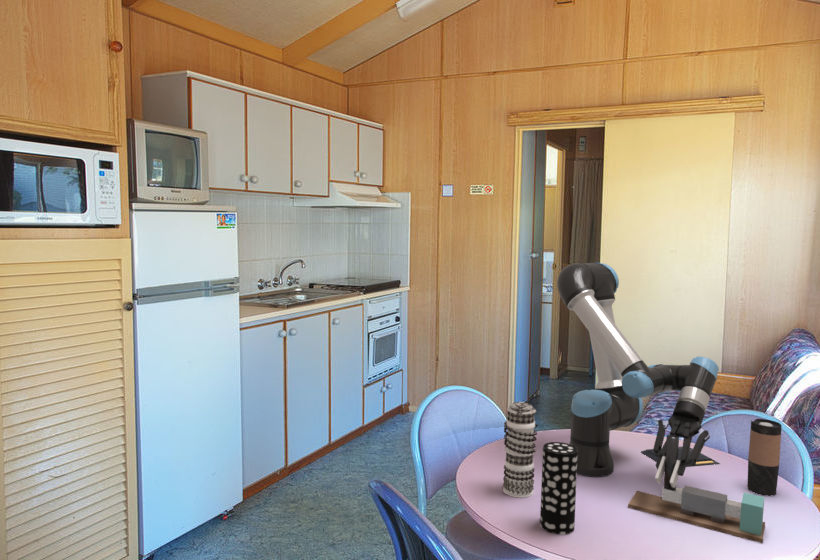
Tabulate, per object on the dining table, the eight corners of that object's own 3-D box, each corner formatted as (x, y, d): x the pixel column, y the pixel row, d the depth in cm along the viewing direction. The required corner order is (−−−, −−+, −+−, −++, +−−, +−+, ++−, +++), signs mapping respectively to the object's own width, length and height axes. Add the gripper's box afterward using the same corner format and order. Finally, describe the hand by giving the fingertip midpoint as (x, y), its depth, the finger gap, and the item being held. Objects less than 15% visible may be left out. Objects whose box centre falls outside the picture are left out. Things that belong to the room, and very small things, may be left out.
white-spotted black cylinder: (535, 518, 151) (538, 442, 149) (567, 517, 152) (570, 441, 150) (545, 535, 143) (549, 454, 141) (579, 534, 143) (582, 454, 142)
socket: (739, 530, 145) (741, 502, 144) (742, 519, 150) (743, 492, 150) (760, 535, 142) (762, 507, 142) (762, 524, 148) (764, 497, 147)
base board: (627, 507, 158) (628, 503, 158) (636, 494, 166) (636, 490, 166) (762, 543, 141) (762, 539, 141) (764, 526, 149) (765, 522, 149)
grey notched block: (680, 513, 153) (681, 491, 152) (683, 506, 157) (685, 484, 157) (723, 524, 147) (725, 502, 147) (726, 516, 152) (727, 494, 151)
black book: (690, 444, 204) (722, 460, 189) (690, 449, 204) (721, 466, 189) (638, 447, 199) (666, 464, 185) (638, 452, 200) (666, 470, 185)
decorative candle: (504, 482, 173) (507, 398, 170) (536, 487, 169) (540, 401, 167) (498, 494, 164) (501, 406, 162) (532, 500, 161) (535, 410, 159)
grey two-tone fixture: (662, 499, 156) (665, 436, 155) (664, 495, 159) (667, 433, 157) (751, 521, 145) (755, 454, 144) (752, 517, 147) (756, 450, 146)
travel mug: (781, 497, 166) (786, 428, 164) (751, 494, 167) (756, 425, 165) (770, 486, 173) (775, 419, 171) (742, 483, 175) (746, 417, 173)
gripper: (724, 421, 161) (700, 499, 150) (664, 408, 172) (638, 480, 161) (719, 406, 156) (694, 485, 146) (658, 393, 167) (630, 466, 157)
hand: (665, 482), depth 153 cm, fingers closed on grey two-tone fixture, 3 cm apart
